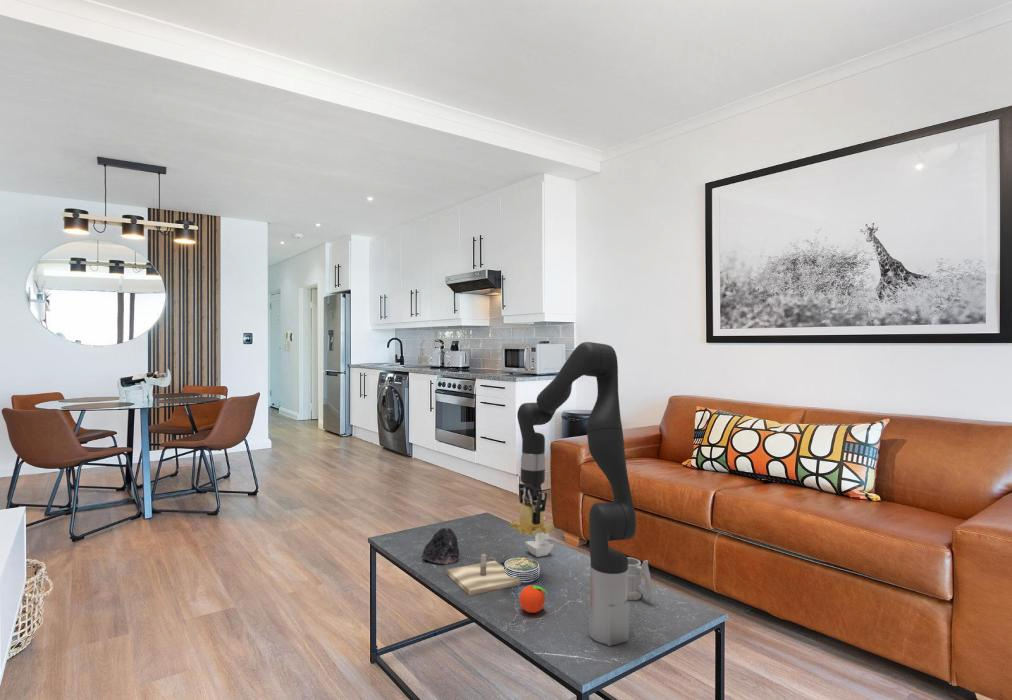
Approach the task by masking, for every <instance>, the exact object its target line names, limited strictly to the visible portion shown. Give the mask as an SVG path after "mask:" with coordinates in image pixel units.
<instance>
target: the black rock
mask: <svg viewBox="0 0 1012 700" xmlns="http://www.w3.org/2000/svg"><path fill="white" fill-rule="evenodd" d="M458 545H459V542H458V538H457V535H456V534H455V532H454V531H453V529H451V528H445V527H443V528H440V529H439V530H438V531H437V532H435V533H434V534H433V536H432V538H431V539H430V540H429V541H428V543H427V544H426V545H425V546H424V549H423V550H422V557H423V558H422V560H423V559H424V560H423V561H425V560H427V562H431V563H435V564H443V565H449V564H448V563H450V564H454V563H456V562H457V560H458V559H459V558H460V557H459V556H460V548H459V546H458Z"/></svg>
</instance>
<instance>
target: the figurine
mask: <svg viewBox="0 0 1012 700" xmlns="http://www.w3.org/2000/svg"><path fill="white" fill-rule="evenodd" d="M544 519H545V520H546V517H545V515H544ZM534 537H535V538H534V539H535V540H528V541H524V544H525V545H526V547H527V549H528V551H529V553H530V554H531V555H533V556H535V557H536V558H539V557H545V556H548V555H549V554H550V552H551V551H552V549H553V547H554V544H552V543H551V542H548V540H549V539H550V533H547V534H545V533H543V532H542V533H537V535H534Z"/></svg>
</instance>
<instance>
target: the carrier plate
mask: <svg viewBox="0 0 1012 700" xmlns="http://www.w3.org/2000/svg"><path fill="white" fill-rule="evenodd" d="M504 568H505V567H504V566H503V565H502V564H500V563H499V562H497V561H496V560H491V561H487V554H486V553H482V554H480V563H476V564H475V563H474V564H469V565H465V566H457V567H452V568H451V567H450V568H447V569H446V575H447V576H448V577H449V578H450V579H451V580H452V581H453V582H455V584H457V586H459V587H460V588H461V589H462V590H463V591H464V592H465V593H466V594H467V595H468V596H473V595H480V594H484V593H489V592H493V591H499V590H503V589H508V588H512V587H517V586H518V587H519V586H521V585H522V579H520V577H518V578H514V577H510V576H508V575H506V573H505V569H506V568H505V569H504Z"/></svg>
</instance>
